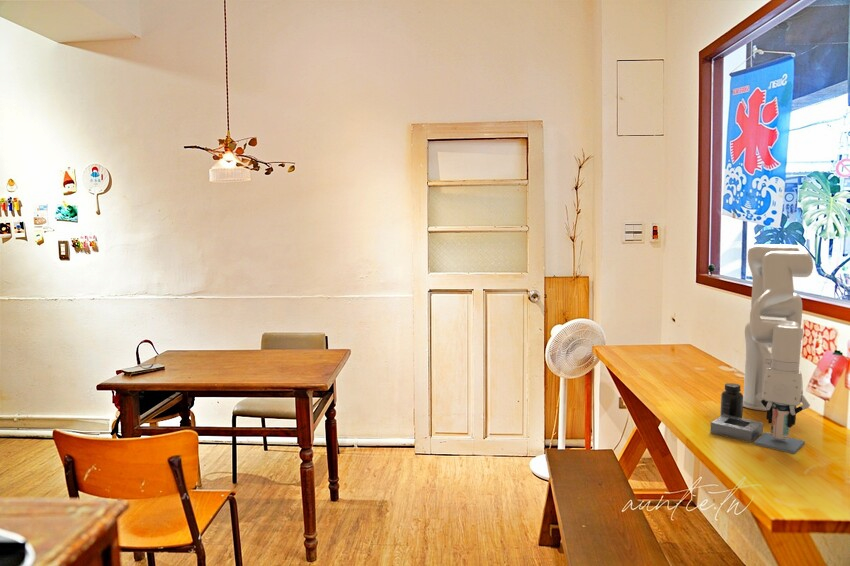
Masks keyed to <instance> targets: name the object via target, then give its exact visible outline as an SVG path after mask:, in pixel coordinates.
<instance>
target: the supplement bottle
mask: <svg viewBox="0 0 850 566" xmlns="http://www.w3.org/2000/svg"><path fill="white" fill-rule="evenodd" d="M743 395H744V394H743V393H741V384H739V383H733V382H729V383H728V382H727V383H725V384H724V391H722V392H721V395H720V413H719V414H720V416H722V415H723V414H725V415H730V416H735V417H740V418H743V411H744V407H743ZM720 416H719V417H720Z"/></svg>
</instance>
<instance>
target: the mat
mask: <svg viewBox="0 0 850 566" xmlns="http://www.w3.org/2000/svg"><path fill="white" fill-rule="evenodd" d="M805 443H806V441H805V440H803V439H798V438H793V437H789V438H788V439H786V440H778V439H775V438H773V437H772V436H771V432H764V433H762V434H761V435H760V436H759V437H757V438H756V439H755V440H754V441H753V445H754V444H755V446H760V447H764V448H767V449H771V450H776V449H777V450H776V451H779V452H780V451H781V452H785V453H790V454H794V455H795V454H796V453H798V451H799V450H800V449H801V448H802V447H803V446H804V445H805Z"/></svg>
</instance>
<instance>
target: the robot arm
mask: <svg viewBox="0 0 850 566" xmlns="http://www.w3.org/2000/svg"><path fill="white" fill-rule="evenodd" d="M747 263H748V266H749V269H750V272H751V276H752V285H751V286H752V287H751V305H750V313H749V322H747V323H746V325H745V327H744V338H745V363H744V364H745V366H744V367H745V368H744V380H743V381H744V382H743V383H744V384H743V394H742V395H743V408H747V409H751V410H755V411H766V420H767V423H768V424H771V423H772V409H773V403H778V404H784V405H789V407H790V414H789V417H788V427H789V429H791V428H793V426H795V425H796V420H797V419H796V418H797V417H796V416H797V414H798V413H800V412H801V411H804V410H806V409H808V408H810V407H811V404H810V403H809V401H808V400H807V398H806V397H805V395H804V388H803V387H804V386H803V376H802V375H803V374H802V371H800V365H801V364H800V362H801V348H802V340H803V336H804V329H803V326H802V322H803V321H802V317H803V300H802V298H801V296H800V294H798V293H796V292H795V288H794V280H793V279H794V278H808V277H810V276H811V275H812V273H813V270H814V260H813V257H812V255H811V254H810V252H809V251H808V250H807V249H806V248H805V247H804V246H803V245H800V244H772V243H771V244H767V243H765V244H755V245H752V246H750V248H749V249H748V251H747ZM762 318H763V319H762ZM765 318H768V319H765ZM769 318H773V319H769ZM781 319H784V320H781ZM769 348H770V349H771V351H770V350H769ZM800 404H801V405H800Z"/></svg>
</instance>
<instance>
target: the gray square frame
mask: <svg viewBox="0 0 850 566" xmlns="http://www.w3.org/2000/svg"><path fill="white" fill-rule="evenodd" d="M709 429H710V434H712V435H717V436H722V437H725V438H729V439H733V440H737V441H742V440H744V441H743V442H746V441H747V442H746V443H750V442H751V443H753V442H754V441H755V440H757V439H758V438H759V437H760V436H761V435H763V434H764V433H763V431H764V422H762V421H758V420H753V419H749V418H744V417H742V418H740V417H735V416H730V415H725V414H723V415H722V416H719V417H717V418H716V419H714V420H713V421H711V422H710V428H709Z"/></svg>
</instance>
